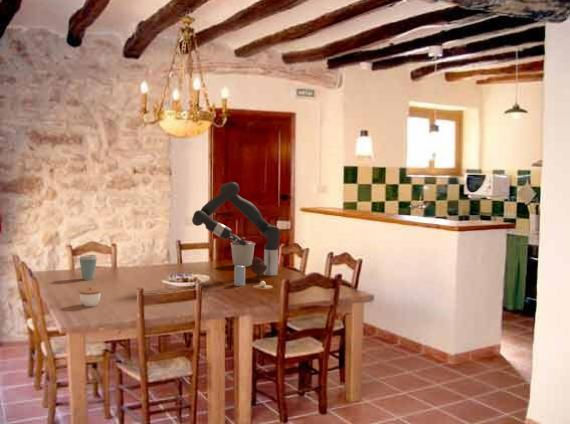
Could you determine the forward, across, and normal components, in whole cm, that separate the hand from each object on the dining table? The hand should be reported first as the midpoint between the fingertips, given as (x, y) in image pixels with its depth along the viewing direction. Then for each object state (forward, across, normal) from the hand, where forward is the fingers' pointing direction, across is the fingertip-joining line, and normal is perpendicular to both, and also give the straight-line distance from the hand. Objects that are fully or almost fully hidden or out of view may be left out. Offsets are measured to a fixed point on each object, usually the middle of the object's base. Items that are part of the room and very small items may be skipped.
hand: (245, 244), depth 368 cm
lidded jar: (-54, -55, +63) cm, 100 cm away
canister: (+6, +69, +19) cm, 71 cm away
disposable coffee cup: (-75, +12, +68) cm, 102 cm away
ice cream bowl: (+18, +17, +17) cm, 31 cm away
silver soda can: (+9, 0, +24) cm, 26 cm away
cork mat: (+22, -5, +18) cm, 29 cm away
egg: (+22, -5, +17) cm, 28 cm away
